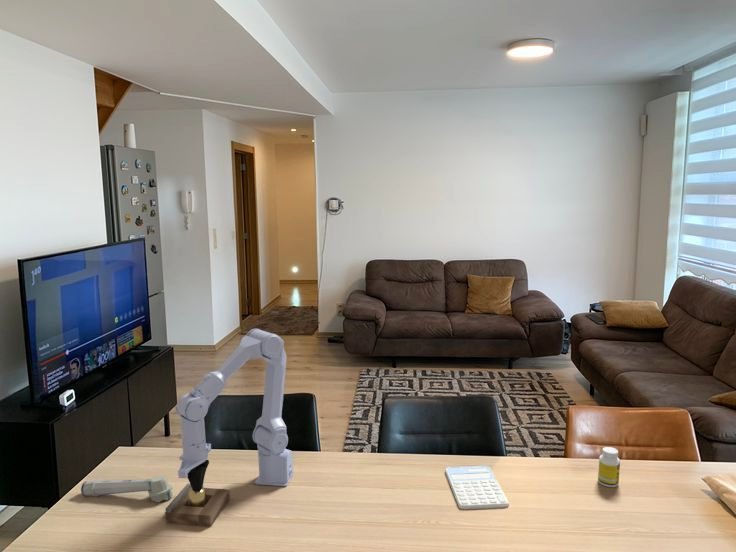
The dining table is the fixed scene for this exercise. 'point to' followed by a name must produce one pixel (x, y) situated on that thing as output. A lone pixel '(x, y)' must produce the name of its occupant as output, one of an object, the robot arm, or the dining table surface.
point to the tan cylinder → (197, 498)
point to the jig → (197, 516)
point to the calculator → (476, 487)
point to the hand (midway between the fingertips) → (197, 489)
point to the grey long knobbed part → (129, 487)
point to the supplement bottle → (609, 467)
